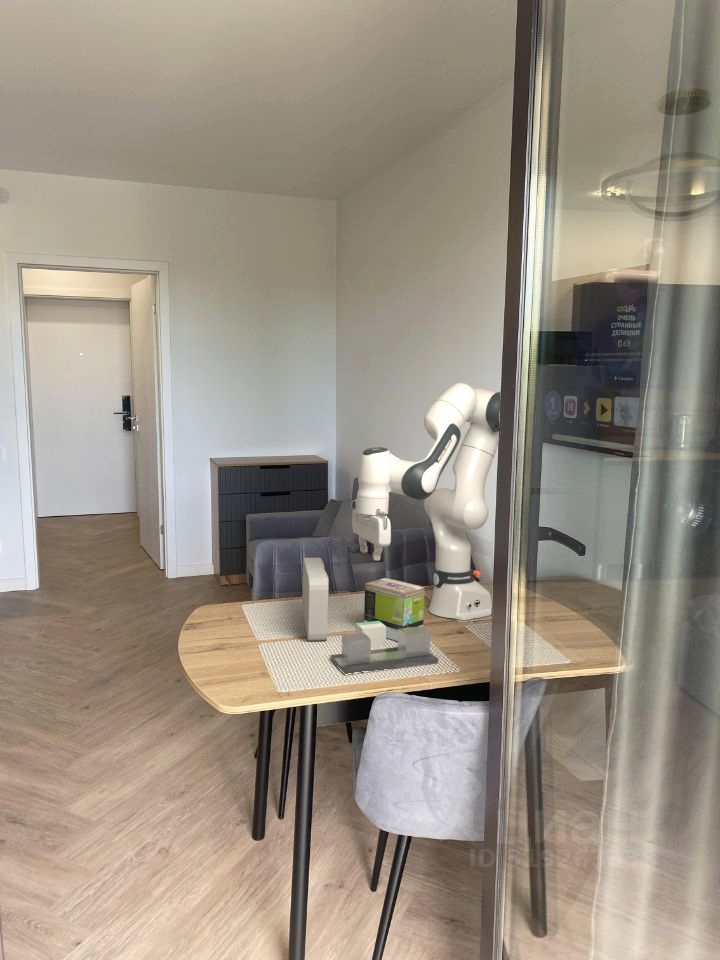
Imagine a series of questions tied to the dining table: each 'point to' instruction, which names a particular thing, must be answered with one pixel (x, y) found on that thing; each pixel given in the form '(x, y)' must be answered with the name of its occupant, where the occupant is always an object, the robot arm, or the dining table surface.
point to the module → (373, 632)
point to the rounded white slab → (315, 599)
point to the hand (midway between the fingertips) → (369, 555)
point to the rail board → (385, 652)
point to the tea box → (394, 605)
